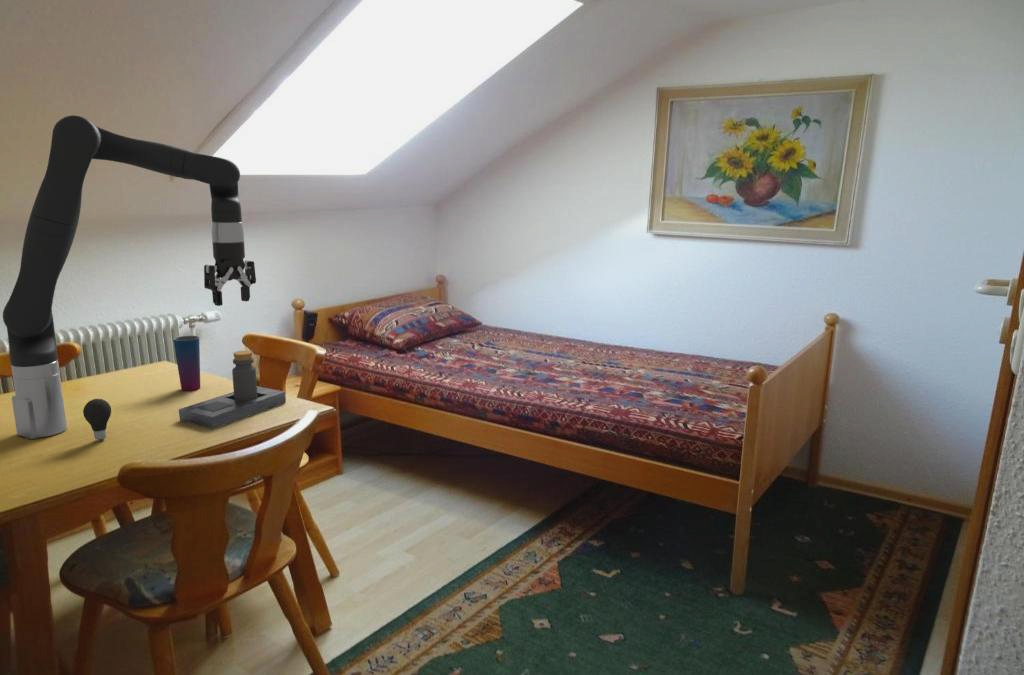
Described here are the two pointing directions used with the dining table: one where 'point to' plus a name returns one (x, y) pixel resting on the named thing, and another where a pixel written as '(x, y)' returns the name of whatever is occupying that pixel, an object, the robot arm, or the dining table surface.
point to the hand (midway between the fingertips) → (232, 303)
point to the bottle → (244, 377)
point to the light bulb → (97, 416)
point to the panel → (230, 408)
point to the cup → (188, 361)
